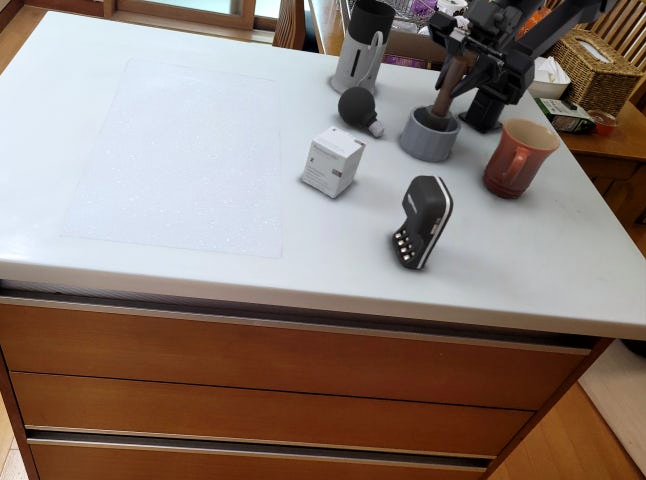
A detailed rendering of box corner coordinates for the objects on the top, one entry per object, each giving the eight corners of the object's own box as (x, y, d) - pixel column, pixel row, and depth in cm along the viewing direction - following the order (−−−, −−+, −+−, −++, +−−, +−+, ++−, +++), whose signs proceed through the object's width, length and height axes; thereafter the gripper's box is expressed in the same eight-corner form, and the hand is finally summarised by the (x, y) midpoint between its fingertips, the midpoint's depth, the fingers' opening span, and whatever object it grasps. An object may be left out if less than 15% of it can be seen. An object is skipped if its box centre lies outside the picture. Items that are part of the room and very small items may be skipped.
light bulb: (388, 125, 90) (348, 80, 91) (362, 151, 94) (324, 108, 95) (401, 118, 95) (363, 76, 96) (376, 144, 99) (340, 103, 100)
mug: (482, 164, 95) (510, 111, 87) (531, 185, 93) (563, 133, 85) (464, 198, 87) (493, 142, 79) (517, 222, 85) (552, 167, 77)
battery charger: (384, 234, 77) (411, 167, 69) (409, 235, 78) (439, 169, 70) (397, 270, 73) (428, 203, 64) (423, 271, 73) (458, 205, 65)
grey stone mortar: (423, 129, 100) (434, 102, 96) (457, 155, 96) (471, 127, 92) (390, 139, 96) (400, 110, 92) (424, 166, 91) (437, 138, 87)
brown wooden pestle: (442, 122, 94) (471, 54, 86) (448, 136, 91) (478, 67, 83) (418, 118, 94) (444, 50, 85) (423, 132, 91) (451, 63, 82)
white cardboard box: (300, 181, 83) (310, 139, 77) (321, 165, 87) (332, 124, 81) (334, 199, 81) (347, 158, 76) (353, 182, 85) (367, 141, 79)
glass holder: (370, 78, 110) (394, 1, 100) (382, 116, 101) (410, 34, 90) (328, 72, 109) (348, -7, 98) (336, 109, 99) (359, 26, 89)
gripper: (456, -47, 82) (387, 38, 84) (566, 3, 74) (487, 96, 76) (464, 1, 92) (402, 76, 94) (562, 50, 84) (492, 131, 86)
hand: (442, 93), depth 87 cm, fingers closed on brown wooden pestle, 2 cm apart
